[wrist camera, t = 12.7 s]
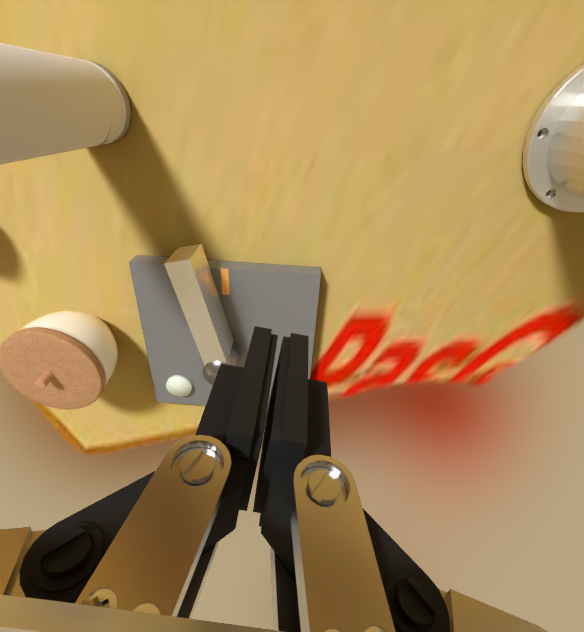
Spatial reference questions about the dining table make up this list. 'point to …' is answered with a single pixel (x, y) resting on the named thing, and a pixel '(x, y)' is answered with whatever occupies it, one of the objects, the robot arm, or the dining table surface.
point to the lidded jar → (60, 359)
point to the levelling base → (240, 310)
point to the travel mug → (56, 104)
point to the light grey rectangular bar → (202, 309)
